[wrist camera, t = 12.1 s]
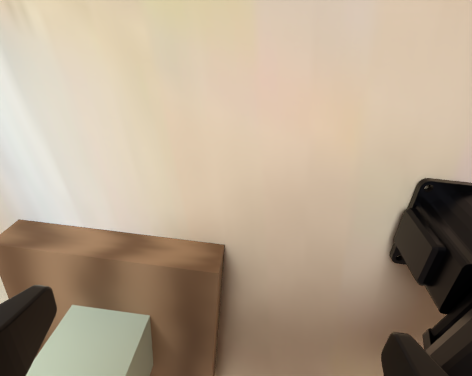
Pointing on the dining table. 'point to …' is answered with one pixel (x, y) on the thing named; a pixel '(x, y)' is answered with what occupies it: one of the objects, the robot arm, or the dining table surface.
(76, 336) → the sage cube
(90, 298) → the walnut board
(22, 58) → the dining table surface
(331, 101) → the dining table surface
